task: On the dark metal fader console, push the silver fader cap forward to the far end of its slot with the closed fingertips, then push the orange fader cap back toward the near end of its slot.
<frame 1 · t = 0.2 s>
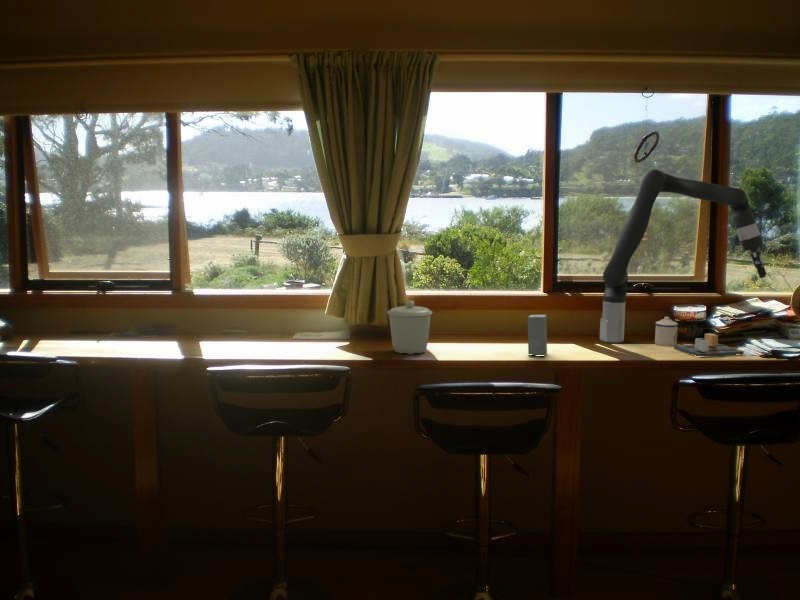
hand: (763, 276, 273), 31 cm above the table, tool tilted 20°, fingers open, 8 cm apart
fader silver: (701, 344, 276), point 4 cm above the table, slide at 0.0 cm
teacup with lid: (665, 343, 299), on the table
console: (708, 351, 282), on the table
skincare box: (536, 355, 278), on the table
canister: (409, 352, 283), on the table
fader orange: (711, 339, 286), point 4 cm above the table, slide at 10.0 cm
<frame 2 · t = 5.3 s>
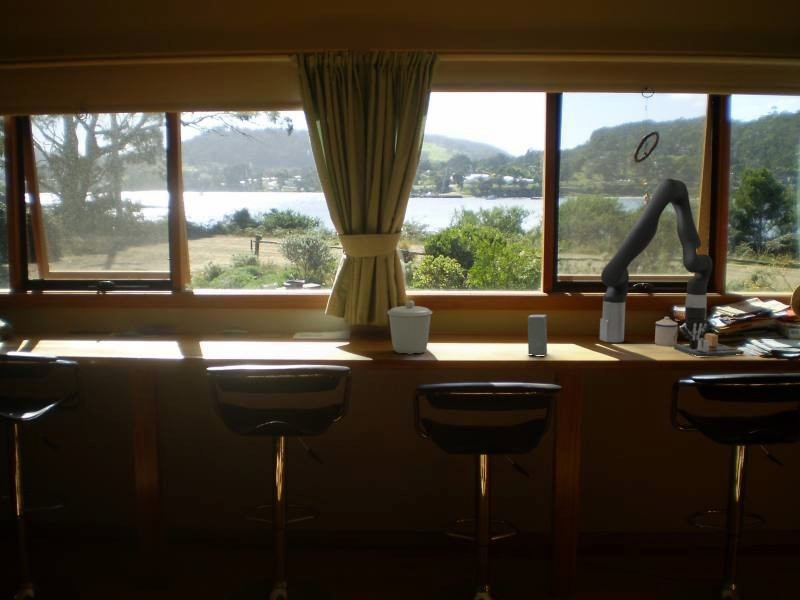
hand: (693, 349, 275), 3 cm above the table, tool pointing down, fingers closed
fader silver: (702, 344, 276), point 4 cm above the table, slide at 0.2 cm, touching gripper
everything else where it was.
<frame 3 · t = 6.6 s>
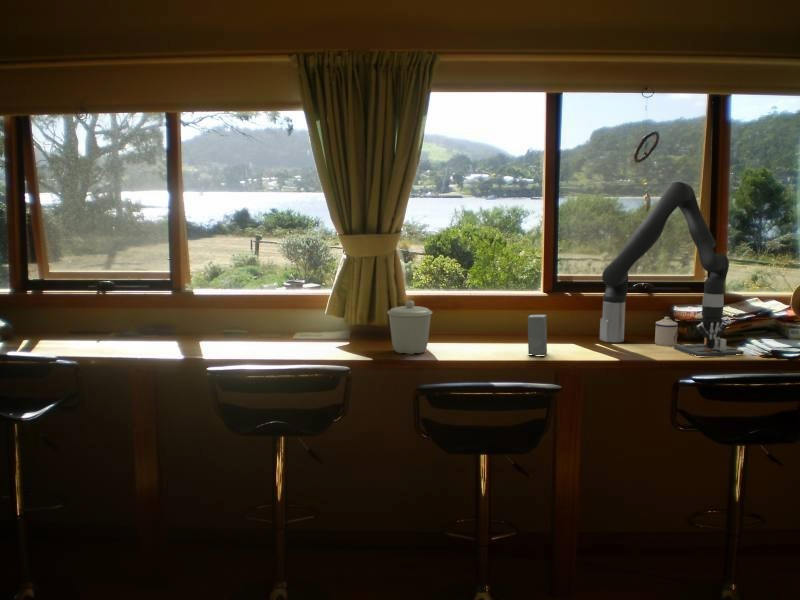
hand: (710, 348, 277), 3 cm above the table, tool pointing down, fingers closed
fader silver: (719, 343, 278), point 4 cm above the table, slide at 7.8 cm, touching gripper
everything else where it was.
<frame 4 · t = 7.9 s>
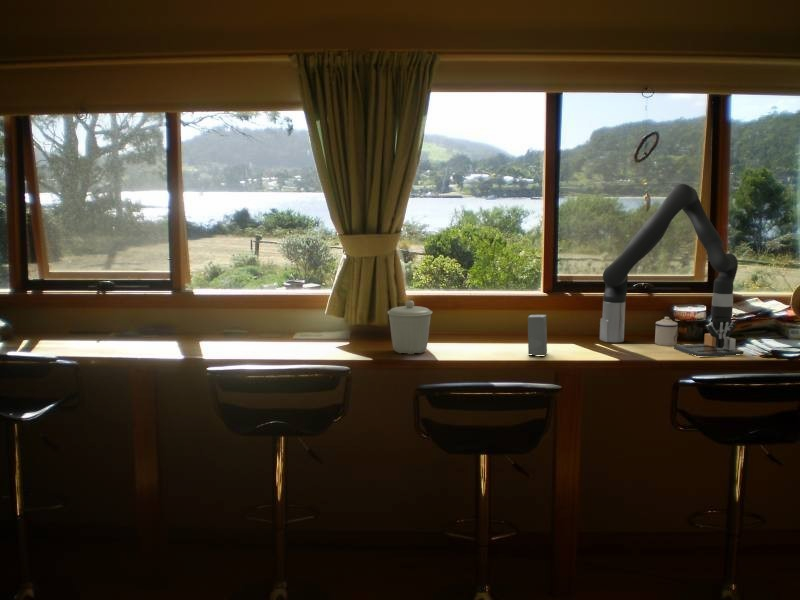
hand: (719, 347, 278), 3 cm above the table, tool pointing down, fingers closed
fader silver: (728, 343, 279), point 4 cm above the table, slide at 12.0 cm, touching gripper
everything else where it was.
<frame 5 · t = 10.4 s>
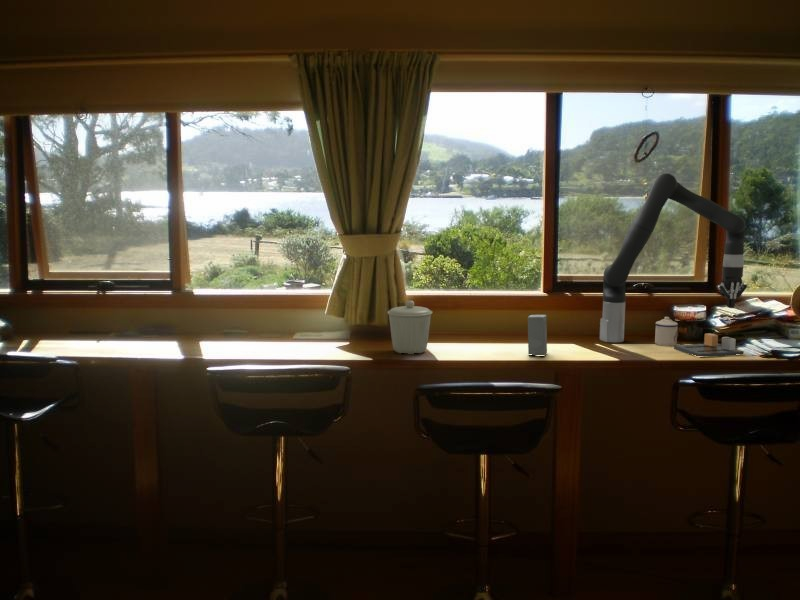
hand: (730, 307, 285), 17 cm above the table, tool pointing down, fingers closed
fader silver: (728, 343, 279), point 4 cm above the table, slide at 12.0 cm
everything else where it was.
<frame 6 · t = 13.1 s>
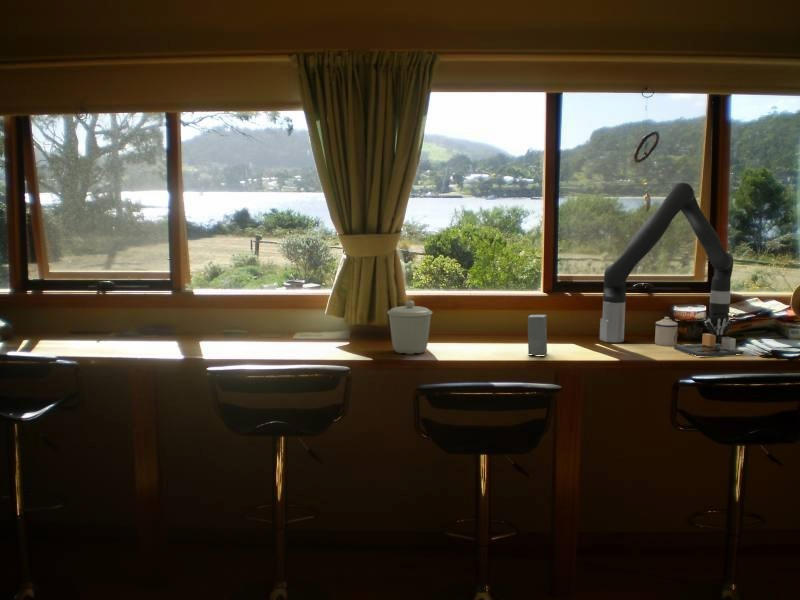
hand: (717, 343, 287), 2 cm above the table, tool pointing down, fingers closed
fader orange: (708, 339, 286), point 4 cm above the table, slide at 9.0 cm, touching gripper
everything else where it was.
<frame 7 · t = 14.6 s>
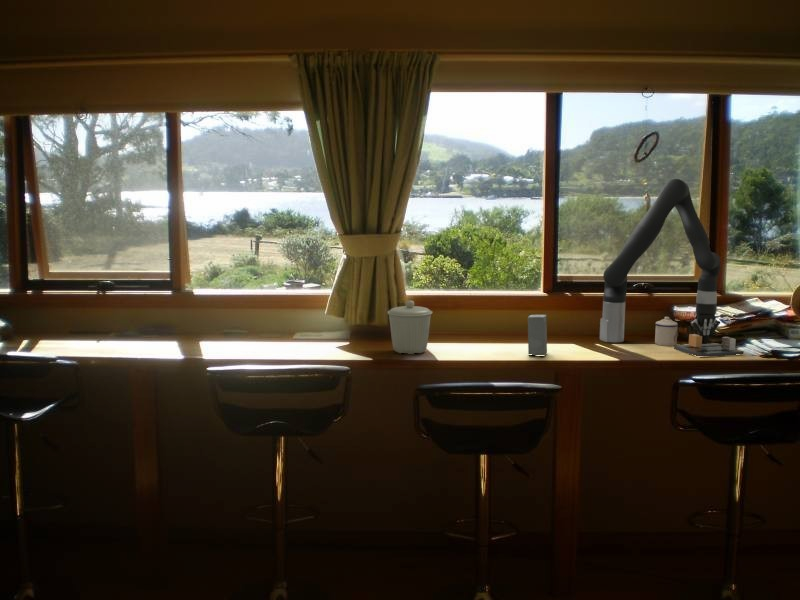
hand: (703, 343, 285), 2 cm above the table, tool pointing down, fingers closed
fader orange: (695, 340, 284), point 4 cm above the table, slide at 2.7 cm, touching gripper
everything else where it was.
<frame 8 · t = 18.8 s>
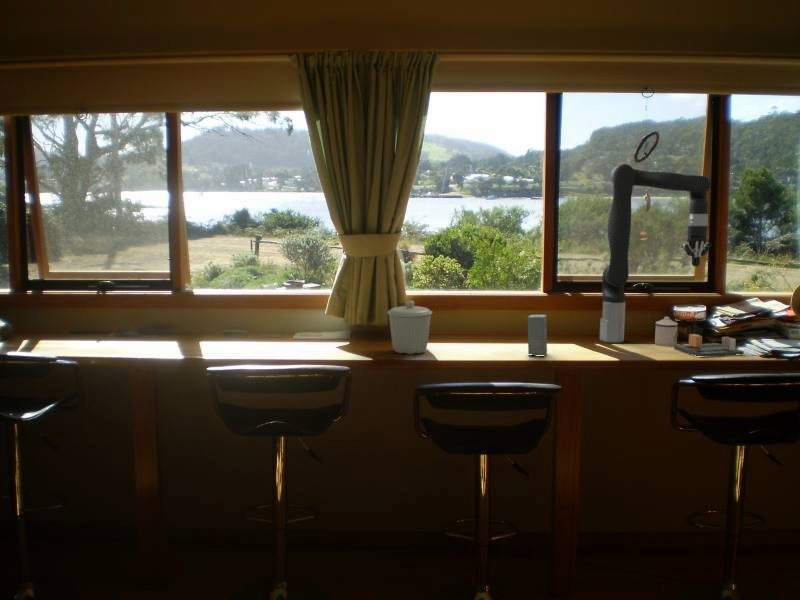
hand: (695, 266, 294), 33 cm above the table, tool pointing down, fingers closed
fader orange: (695, 340, 284), point 4 cm above the table, slide at 2.7 cm
everything else where it was.
at the end: fader silver slide at 12.0 cm; fader orange slide at 2.7 cm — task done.
